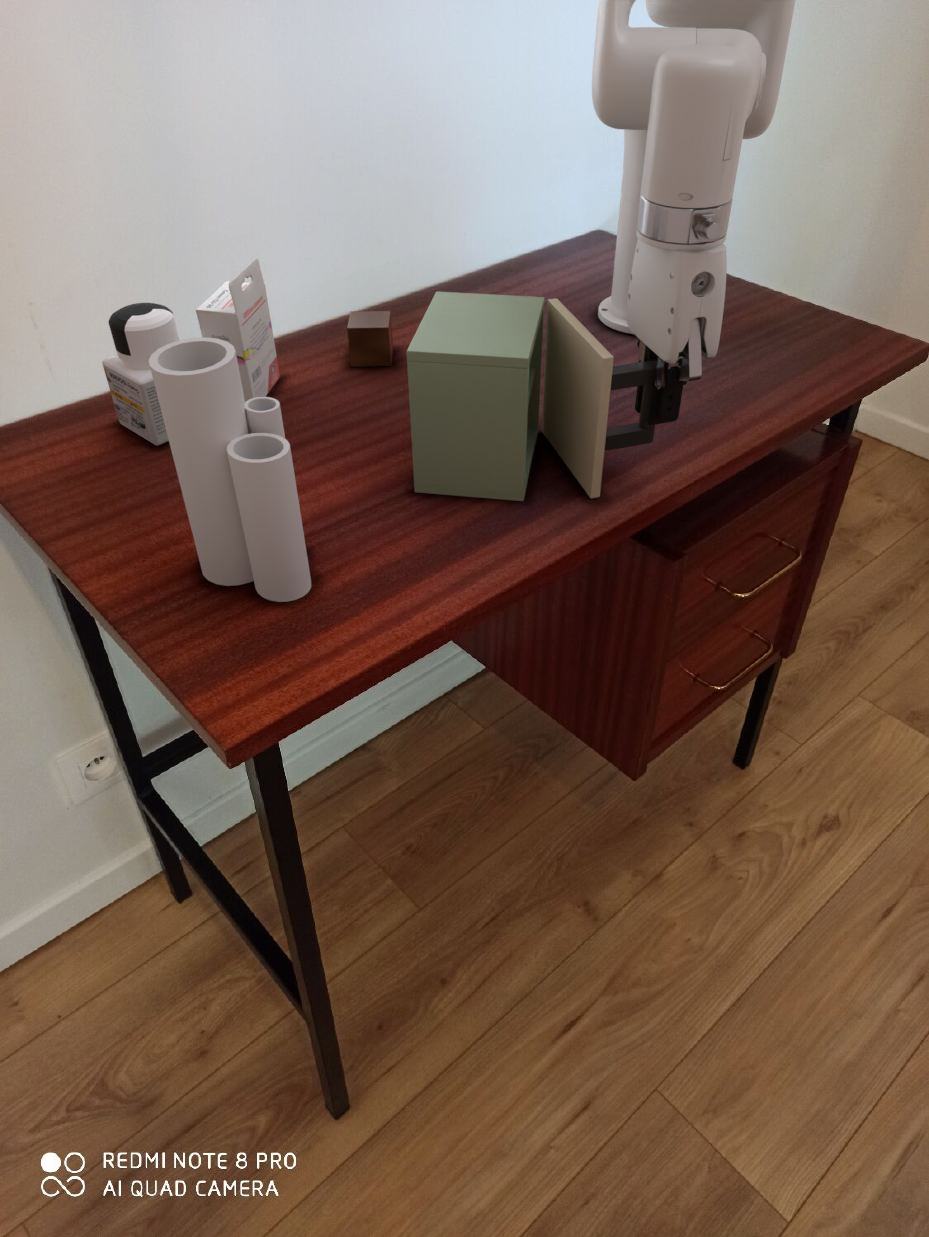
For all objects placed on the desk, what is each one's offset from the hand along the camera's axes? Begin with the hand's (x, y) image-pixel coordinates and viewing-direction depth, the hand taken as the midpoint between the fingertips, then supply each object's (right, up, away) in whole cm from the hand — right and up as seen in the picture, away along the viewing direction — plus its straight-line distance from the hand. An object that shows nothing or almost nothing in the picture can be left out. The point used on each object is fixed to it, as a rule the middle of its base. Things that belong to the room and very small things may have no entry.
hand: (656, 414), depth 89 cm
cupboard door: (-5, -3, +7) cm, 9 cm away
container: (-52, +2, +14) cm, 54 cm away
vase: (-37, -15, -6) cm, 41 cm away
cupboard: (-17, -3, +7) cm, 19 cm away
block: (-30, +13, +26) cm, 42 cm away
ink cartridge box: (-44, +7, +19) cm, 49 cm away
